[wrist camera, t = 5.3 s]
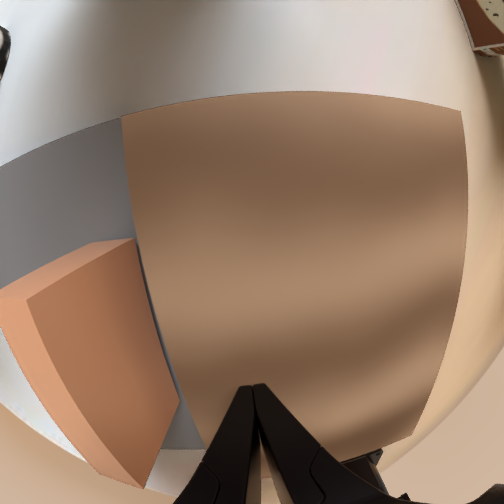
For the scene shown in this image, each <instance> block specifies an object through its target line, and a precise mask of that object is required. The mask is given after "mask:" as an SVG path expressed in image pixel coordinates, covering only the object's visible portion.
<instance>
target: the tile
mask: <svg viewBox="0 0 504 504" xmlns="http://www.w3.org/2000/svg"><path fill="white" fill-rule="evenodd" d="M0 326H1V329H2V331H3V333H4V336H5V338H6V340H7V342H8V344H9V346H10V349H11V351H12V353H13V355H14V357H15V359H16V361H17V363H18V364H19V366H20V368H21V370H22V372H23V374H24V375H25V377H26V379H27V381H28V382H29V384H30V386H31V387H32V389H33V391H34V392H35V394H36V395H37V397H38V399H39V400H40V402H41V403H42V405H43V406H44V408H45V409H46V411H47V412H48V413H49V415H50V416H51V418H52V419H53V420H54V422H55V423H56V424H57V426H58V427H59V428H60V430H61V431H62V432H63V434H64V435H65V436H66V437H67V439H68V440H69V441H70V442H71V443H72V445H73V446H74V447H75V448H76V449H77V451H78V452H79V453H80V454H81V455H82V456H83V457H84V458H85V460H86V461H87V462H88V463H89V464H90V465H91V466H92V467H93V468H94V469H95V470H96V471H97V472H98V473H99V474H101V475H104V476H106V477H109V478H112V479H114V480H117V481H120V482H123V483H125V484H128V485H132V486H135V487H138V488H141V489H144V487H145V484H146V482H147V479H148V477H149V475H150V472H151V470H152V467H153V465H154V462H155V460H156V457H157V455H158V453H159V450H160V448H161V445H162V443H163V440H164V438H165V436H166V433H167V431H168V428H169V426H170V424H171V421H172V419H173V416H174V414H175V412H176V409H177V407H178V404H179V402H180V399H179V396H178V394H177V391H176V388H175V386H174V383H173V380H172V377H171V374H170V371H169V369H168V366H167V363H166V360H165V357H164V353H163V350H162V347H161V344H160V341H159V337H158V334H157V331H156V327H155V324H154V320H153V316H152V313H151V309H150V305H149V301H148V297H147V293H146V289H145V285H144V281H143V277H142V272H141V267H140V263H139V258H138V253H137V248H136V243H135V238H127V239H118V240H109V241H100V242H92V243H89V244H87V245H85V246H83V247H81V248H79V249H77V250H74V251H72V252H70V253H68V254H66V255H64V256H62V257H60V258H58V259H56V260H54V261H52V262H50V263H48V264H46V265H44V266H42V267H40V268H38V269H36V270H34V271H33V272H31V273H29V274H27V275H25V276H23V277H21V278H20V279H18V280H16V281H14V282H12V283H11V284H9V285H7V286H5V287H4V288H2V289H0Z"/></svg>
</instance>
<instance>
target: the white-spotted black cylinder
mask: <svg viewBox="0 0 504 504" xmlns="http://www.w3.org/2000/svg"><path fill="white" fill-rule="evenodd" d="M10 44H11V42H10V34H9V31H7V30H6V29H5V28H3V27H1V26H0V79H1V76H2V74H3V71H4V68H5V65H6V62H7V58H8V55H9V50H10Z"/></svg>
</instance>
